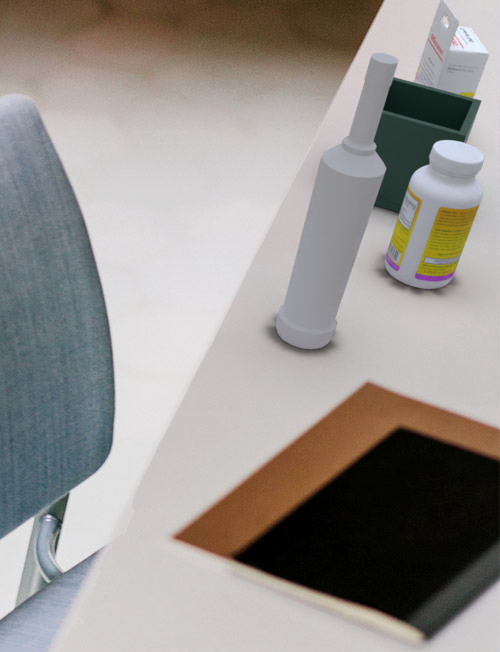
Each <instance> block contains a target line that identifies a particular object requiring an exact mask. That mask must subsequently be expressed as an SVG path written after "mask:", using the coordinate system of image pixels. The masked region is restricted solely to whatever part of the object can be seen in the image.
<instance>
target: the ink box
mask: <svg viewBox="0 0 500 652" xmlns="http://www.w3.org/2000/svg"><path fill="white" fill-rule="evenodd" d="M444 18H446V19H447V21H448V24H445V23H444V20H443V19H444ZM459 25H460V19H459V18H458V17H457V15H456V14H455V12H454V11H453V10H452V8H451V6H450V5H449V3H448V2H447V1H446V0H440V1H439V3H438V6H437V8H436V11H435V15H434V17H433V20H432V23H431V26H430V29H429V32H428V35H427V38H426V41H425V45H424V48H423V51H422V53H421V57H420V60H419V63H418V67H417V69H416V73H415V76H414V79H413V82H414V83H418V84H421V85H425V86H429V87H433V88H436V89H440V90H444V91H448V92H451V93H455V94H459V95H463V96H466V97H470V98H473V99H475V95H476V93H477V89H478V88H479V84H480V82H481V79H482V76H483V73H484V70H485V69H486V68H485V67H486V65H487V63H488V60H489V59H488V58H489V57H490V52H489V51H488V50H487V48H486V47H485V45H484V44H483V43H482V42H481V40H480V38H479V37H478V36H477V34H476V33H475V31H474V30H473V28H471V27H467V26H459Z"/></svg>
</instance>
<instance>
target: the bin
mask: <svg viewBox="0 0 500 652" xmlns="http://www.w3.org/2000/svg"><path fill="white" fill-rule="evenodd" d="M481 104H482V100H481V99H477V98H470V97H466V96H463V95H459V94H455V93H451V92H448V91H444V90H440V89H436V88H433V87H429V86H425V85H421V84H418V83H414V81H410V80H406V79H403V78H399V77H395V76H394V77H393V80H392V84H391V86H390V88H389V91H388V94H387V98H386V101H385V104H384V108H383V111H382V114H381V118H380V121H379V124H378V128H377V131H376V134H375V137H374V143H375V144H376V150H375V151H376V153H377V154H378V156H379V157H380V158H381V160H382V161H383V163H384V165H385V167H386V171H385V174H384V177H383V180H382V183H381V186H380V189H379V192H378V195H377V197H376V200H375V203H374V206H376V207H379V208H382V209H387V210H390V211H392V212H396V213H400V210H401V207H402V204H403V201H404V198H405V195H406V192H407V188H408V185H409V182H410V180H411V177H412V175H413V174H414V173H415V171H417V170H418V169H419V168H421V167H423V166H426V165H429V164H430V161H429V160H430V159H429V155H430V153H431V150H432V147H433V145H434V144H435V143H436V142H438V141H442V140H453V141H459V142H463V143H466V144H468V143H467V142H468V140H469V137H470V135H471V131H472V129H473V126H474V123H475V120H476V117H477V115H478V112H479V110H480V107H481Z"/></svg>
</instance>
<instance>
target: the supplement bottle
mask: <svg viewBox="0 0 500 652" xmlns="http://www.w3.org/2000/svg"><path fill="white" fill-rule="evenodd" d="M485 157H486V156H485V154H484V153H483V151H481V150H480V149H479V148H477V147H475V146H474V145H471V144H469V143H463V142H459V141H453V140H442V141H438V142H436V143H435V144H434V145H433V147H432V150H431V153H430V155H429V159H430V160H429V161H430V164H429V165H426V166H423V167H421V168H419V169H418V170H417V171H415V173H414V174H413V175H412V177H411V180H410V182H409V185H408V188H407V192H406V195H405V198H404V201H403V204H402V207H401V210H400V213H399V212H398V213H399V214H398V216H397V220H396V222H395V225H394V228H393V232H392V235H391V238H390V241H389V244H388V247H387V251H386V253H385V256H384V267H385V269H386V271H387V272H388V273H389V275H390V276H391V277H392V278H394V279H396V280H397V281H399V282H401V283H403V284H405V285H408V286H411V287H413V288H417V289H426V290H431V289H432V290H434V289H439V288H440V289H441V288H443V287H446V286H447V285H448V284H449V283H450V282H451V281H452V279H453V278H454V275H455V273H456V271H457V268H458V264H459V262H460V259H461V256H462V254H463V251H464V248H465V247H466V243H467V240H468V237H469V235H470V232H471V229H472V226H473V224H474V222H475V218H476V215H477V213H478V210H479V208H480V205H481V203H482V200H483V196H484V195H483V194H484V189H483V185H482V184H481V182H480V180H479V179H478V178H477V175H478V174H479V173H480V172H481V170H482V168H483V164H484V162H485Z"/></svg>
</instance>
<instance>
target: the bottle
mask: <svg viewBox="0 0 500 652" xmlns="http://www.w3.org/2000/svg"><path fill="white" fill-rule="evenodd" d="M398 64H399V59H398V58H397V57H396V56H394V55H392V54H389V53H383V52H374V53H372V54H371V55H370V58H369V62H368V66H367V69H366V73H365V76H364V82H363V85H362V89H361V93H360V95H359V99H358V103H357V106H356V109H355V113H354V116H353V120H352V123H351V126H350V129H349V133H348V135H346V136H345V137H343V138H342V141H341V143H339V144H337V145H334V146H332V147H330V148H329V149H327V150H324V151H323V153H322V154H321V156H320V161H319V164H318V169H317V171H316V172H317V173H316V176H315V180H314V184H313V188H312V192H311V197H310V200H309V203H308V208H307V212H306V216H305V219H304V223H303V227H302V232H301V235H300V239H299V243H298V246H297V250H296V255H295V259H294V262H293V266H292V271H291V274H290V277H289V278H290V279H289V282H288V286H287V290H286V294H285V298H284V302H283V304H282V305H280V307H279V309H278V312H277V314H276V315H277V316H276V321H275V328H276V332H277V335H278V337H279V338H281V340H282V341H284V342H285V343H287V344H289V345H291V346H293V347H296V348H298V349H303V350H318V349H322V348H324V347H325V346H327V345H328V344H329V343H330V341H331V340H332V338H333V336H334V333H335V330H336V327H337V325H338V322H337V319H336V317H337V315H338V311H339V309H340V306H341V303H342V300H343V297H344V294H345V291H346V288H347V285H348V283H349V279H350V276H351V274H352V270H353V267H354V264H355V262H356V260H357V259H356V258H357V255H358V253H359V250H360V247H361V244H362V241H363V238H364V235H365V233H366V230H367V227H368V223H369V221H370V217H371V215H372V212H373V209H374V206H375V205H374V203H375V200H376V197H377V195H378V192H379V189H380V186H381V183H382V180H383V177H384V174H385V171H386V167H385V165H384V163H383V161H382V160H381V158H380V157H379V156H378V154H377V153H376V151H375V150H376V144H375V143H374V137H375V134H376V131H377V128H378V124H379V121H380V118H381V114H382V111H383V108H384V104H385V101H386V98H387V94H388V91H389V88H390V86H391V84H392V80H393V77H395V73H396V72H397V71H396V70H397V68H398Z"/></svg>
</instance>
